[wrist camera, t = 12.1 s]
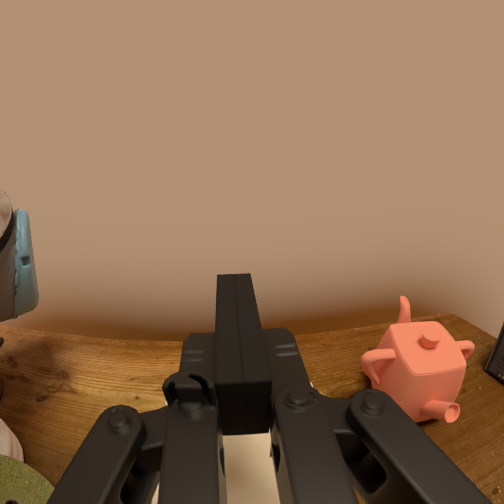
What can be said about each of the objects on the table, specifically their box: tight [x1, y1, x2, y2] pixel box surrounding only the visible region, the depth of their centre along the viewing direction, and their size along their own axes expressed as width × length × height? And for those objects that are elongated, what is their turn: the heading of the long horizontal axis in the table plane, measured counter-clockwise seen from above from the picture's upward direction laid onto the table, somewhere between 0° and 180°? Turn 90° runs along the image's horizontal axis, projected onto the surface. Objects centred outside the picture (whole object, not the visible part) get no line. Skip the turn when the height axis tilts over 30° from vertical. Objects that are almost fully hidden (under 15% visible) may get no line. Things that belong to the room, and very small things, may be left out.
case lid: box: [152, 382, 313, 504], centre depth 14 cm, size 13×12×1 cm
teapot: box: [360, 296, 475, 423], centre depth 25 cm, size 14×12×10 cm
